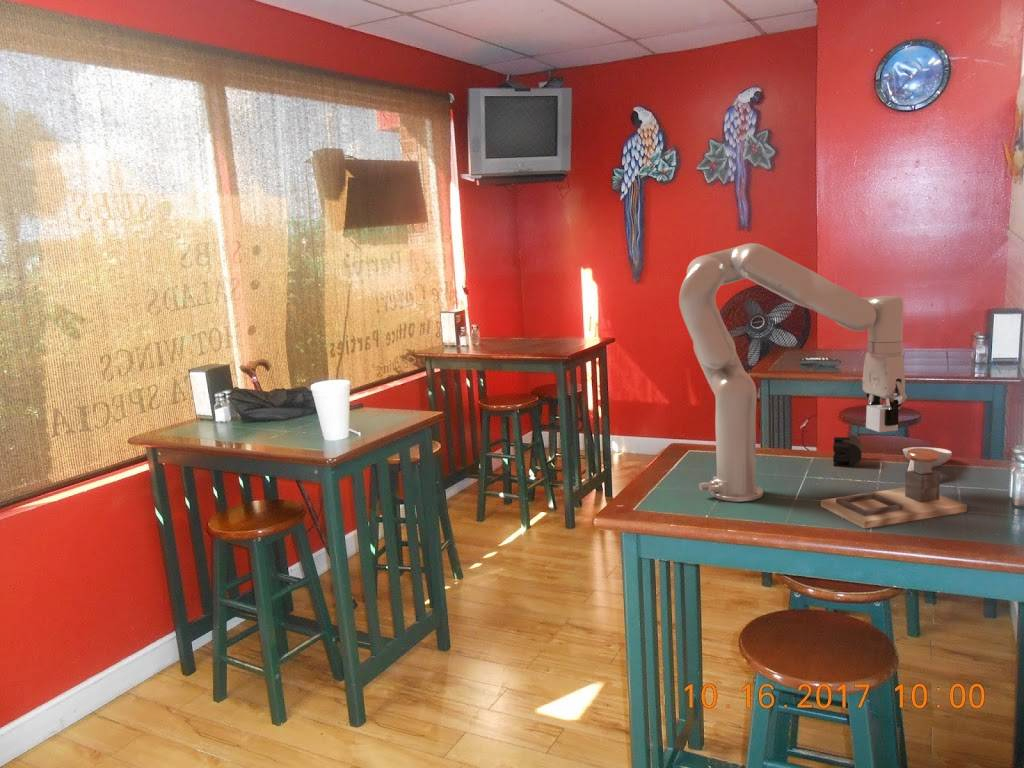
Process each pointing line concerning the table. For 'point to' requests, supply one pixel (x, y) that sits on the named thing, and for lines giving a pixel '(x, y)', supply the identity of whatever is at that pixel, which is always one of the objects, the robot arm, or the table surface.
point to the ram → (923, 460)
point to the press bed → (896, 503)
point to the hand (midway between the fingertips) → (883, 421)
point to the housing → (878, 419)
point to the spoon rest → (943, 457)
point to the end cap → (846, 451)
